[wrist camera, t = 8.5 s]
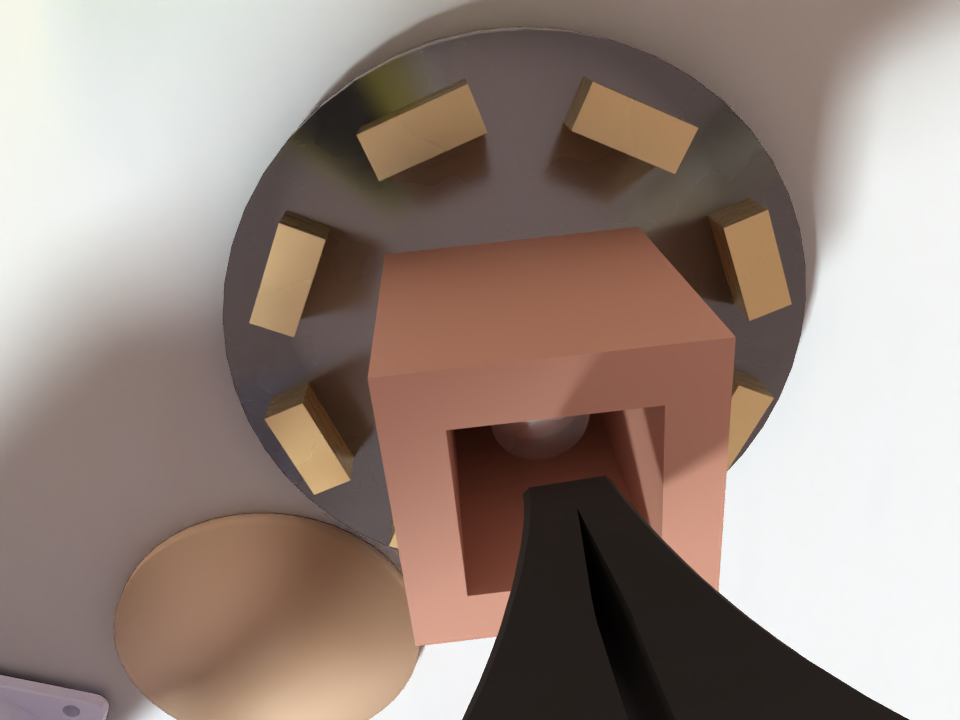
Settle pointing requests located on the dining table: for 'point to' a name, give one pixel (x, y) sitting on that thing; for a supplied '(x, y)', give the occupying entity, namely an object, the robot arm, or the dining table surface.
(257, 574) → the cork coaster
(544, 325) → the pink square tube
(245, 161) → the dining table surface
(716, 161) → the hub
